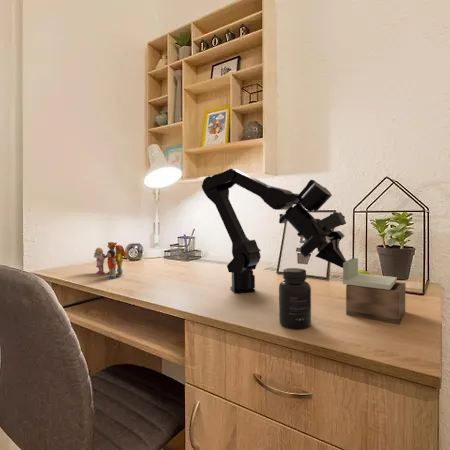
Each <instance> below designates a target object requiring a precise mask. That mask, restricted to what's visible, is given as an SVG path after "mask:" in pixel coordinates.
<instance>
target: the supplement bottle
mask: <svg viewBox="0 0 450 450" xmlns="http://www.w3.org/2000/svg"><path fill="white" fill-rule="evenodd" d="M282 271H283V275H282V279H284V280H283V281H281V282H280V283H279V284H278V285H279V286H278V305H279V306H278V311H279V313H278V317H279V321H278V322H279V324H280V325H281V326H283V327H284V328H286V329H290V330H304V329H308V328H309V327H310V326H311V325H312V286H311V284H310V283H309V282H308V281H306V280H307V271H306V269H304V268H298V267H291V268H290V267H288V268H284V269H283V270H282Z"/></svg>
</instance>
